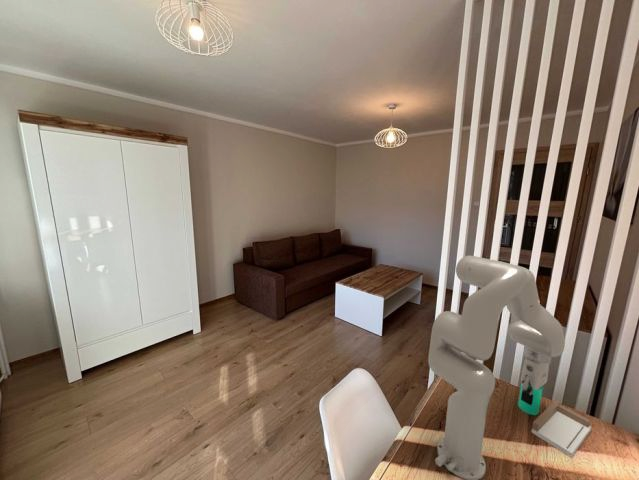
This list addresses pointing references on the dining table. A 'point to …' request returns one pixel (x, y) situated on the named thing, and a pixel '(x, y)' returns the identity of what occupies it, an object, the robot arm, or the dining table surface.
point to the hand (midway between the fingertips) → (529, 398)
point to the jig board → (561, 428)
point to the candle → (536, 401)
